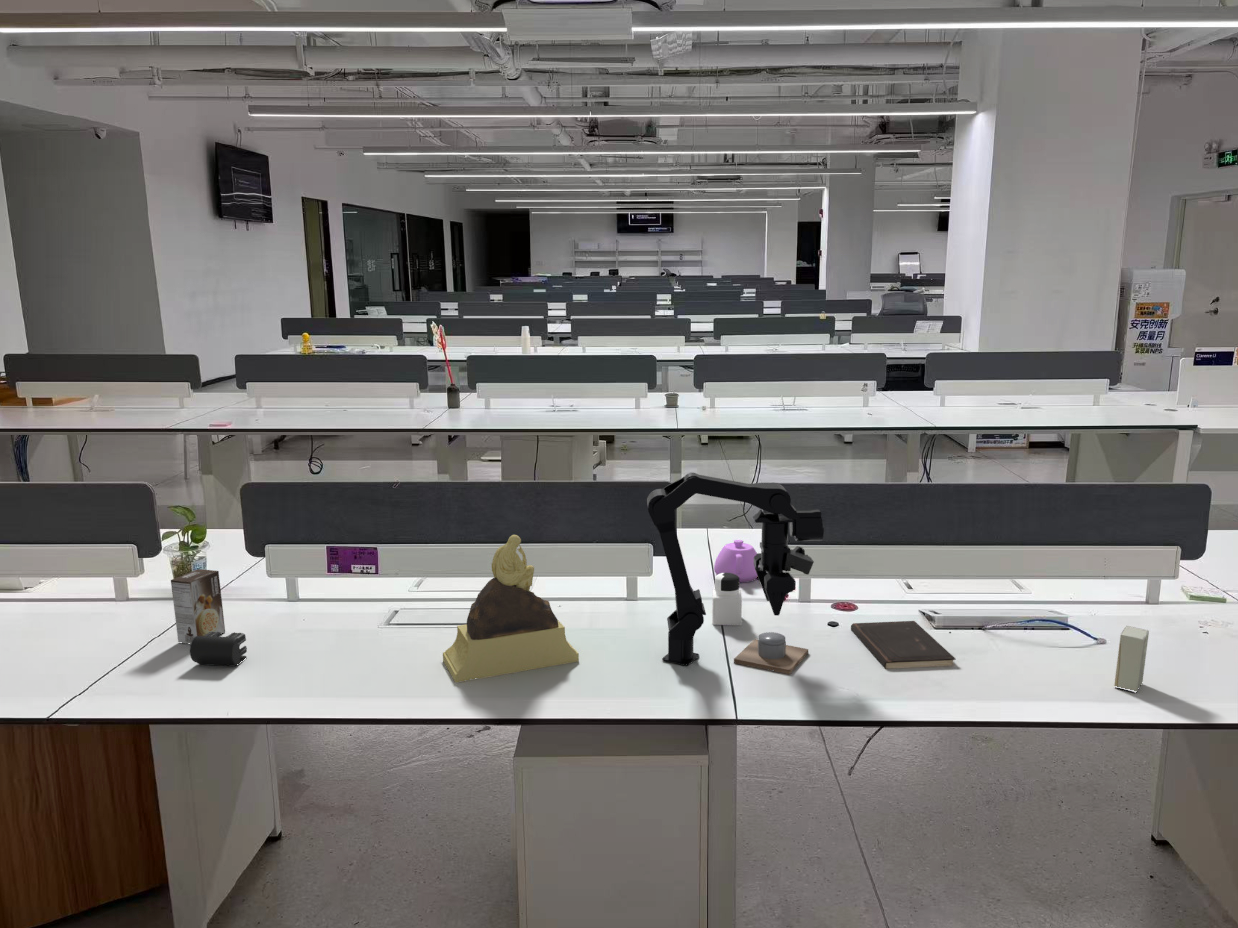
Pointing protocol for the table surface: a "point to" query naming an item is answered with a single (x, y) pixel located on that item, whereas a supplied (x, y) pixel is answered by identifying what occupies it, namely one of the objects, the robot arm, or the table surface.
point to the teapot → (737, 561)
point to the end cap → (218, 649)
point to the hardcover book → (901, 644)
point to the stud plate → (780, 665)
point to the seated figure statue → (508, 625)
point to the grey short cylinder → (771, 645)
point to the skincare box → (1131, 658)
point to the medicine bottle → (727, 600)
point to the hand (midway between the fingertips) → (772, 607)
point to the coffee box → (197, 604)
